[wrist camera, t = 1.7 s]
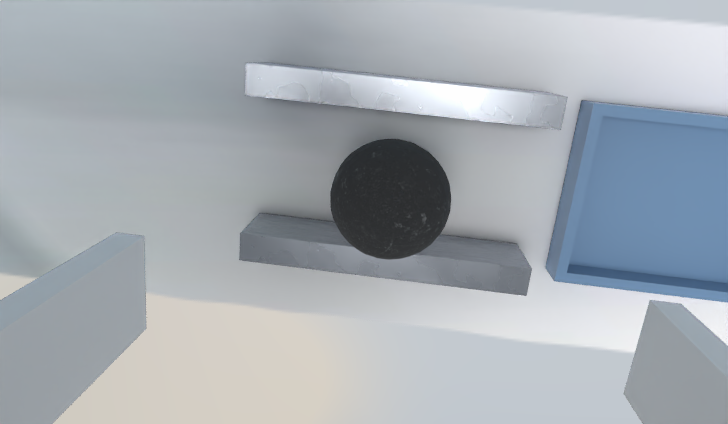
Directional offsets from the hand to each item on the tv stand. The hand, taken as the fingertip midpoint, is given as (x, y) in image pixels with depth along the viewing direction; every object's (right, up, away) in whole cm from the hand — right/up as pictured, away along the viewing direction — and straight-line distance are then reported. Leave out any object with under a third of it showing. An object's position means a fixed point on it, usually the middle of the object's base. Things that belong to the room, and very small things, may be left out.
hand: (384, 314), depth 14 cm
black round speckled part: (+1, +5, +18) cm, 19 cm away
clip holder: (+1, +5, +18) cm, 18 cm away
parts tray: (+17, +3, +17) cm, 24 cm away
